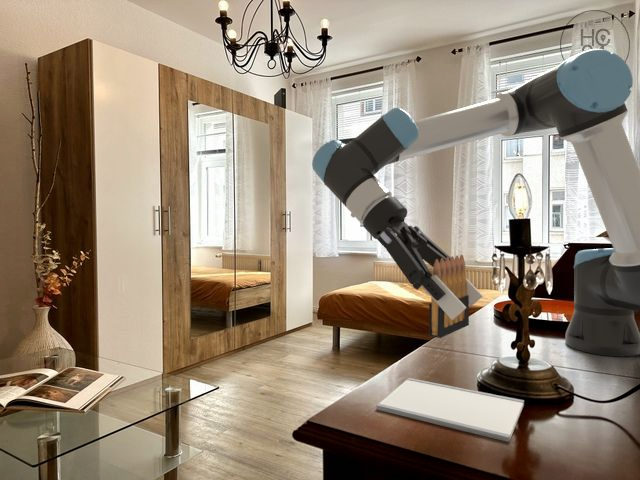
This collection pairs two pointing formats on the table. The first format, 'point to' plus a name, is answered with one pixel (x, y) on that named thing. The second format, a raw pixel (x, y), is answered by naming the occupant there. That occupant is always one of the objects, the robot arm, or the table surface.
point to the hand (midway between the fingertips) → (468, 307)
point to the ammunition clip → (456, 282)
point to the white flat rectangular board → (455, 408)
